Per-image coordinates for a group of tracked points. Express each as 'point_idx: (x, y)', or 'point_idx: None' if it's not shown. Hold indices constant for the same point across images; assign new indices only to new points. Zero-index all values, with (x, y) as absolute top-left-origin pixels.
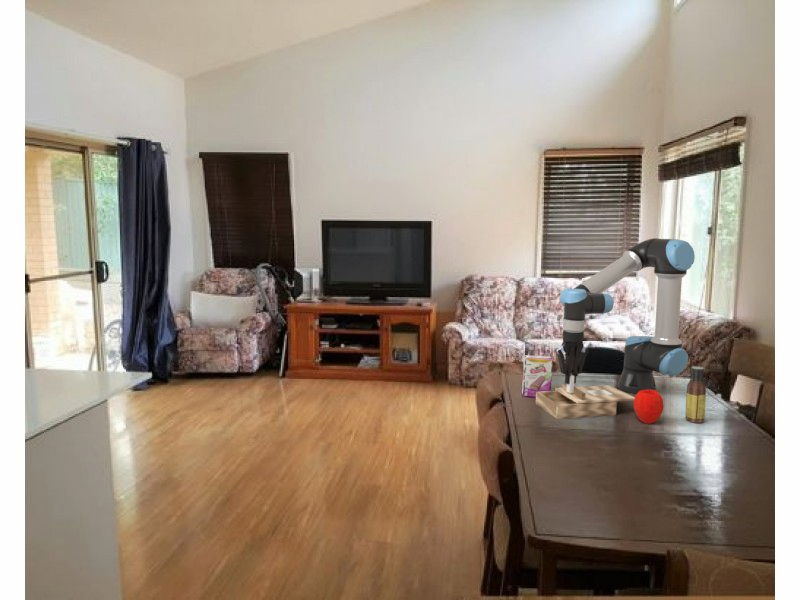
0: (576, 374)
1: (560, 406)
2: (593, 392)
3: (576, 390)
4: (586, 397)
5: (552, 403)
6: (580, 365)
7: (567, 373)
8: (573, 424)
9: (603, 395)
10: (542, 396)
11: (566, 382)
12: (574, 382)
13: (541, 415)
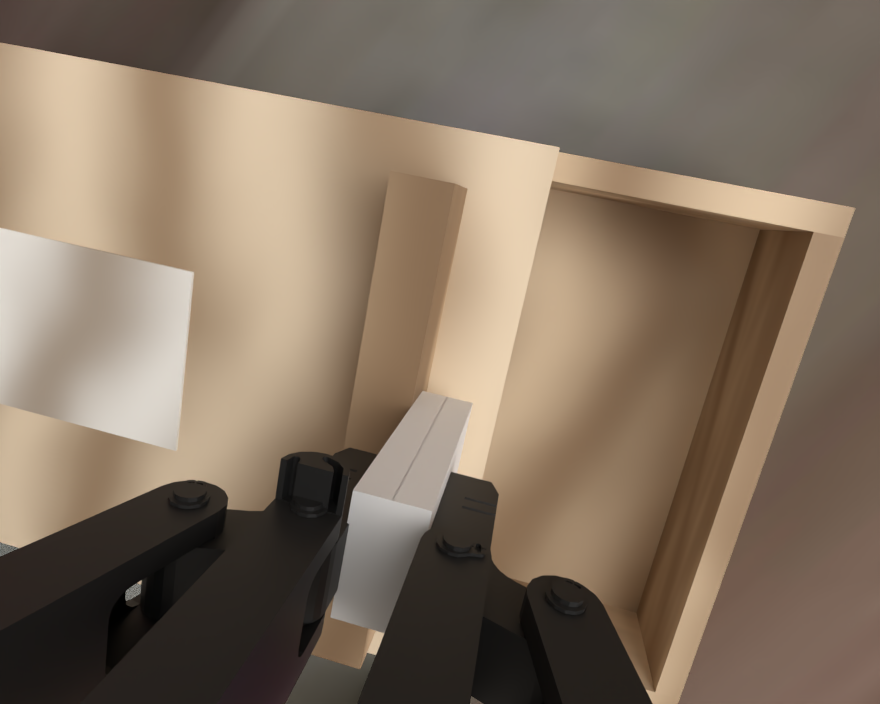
0: (309, 480)
1: (806, 200)
2: (135, 360)
3: (421, 336)
4: (334, 246)
5: (798, 343)
6: (68, 594)
7: (486, 586)
8: (748, 5)
9: (91, 231)
10: (719, 578)
11: (495, 505)
12: (360, 457)
13: (850, 359)
